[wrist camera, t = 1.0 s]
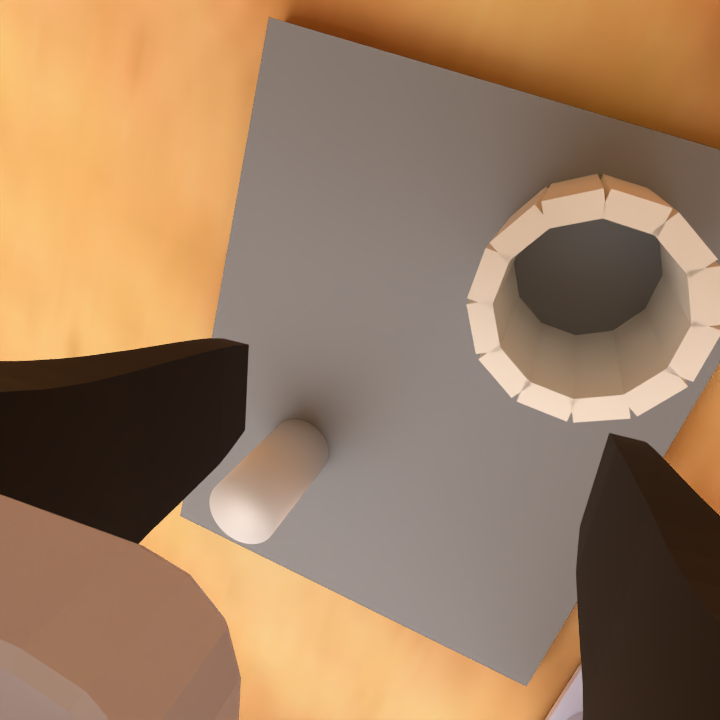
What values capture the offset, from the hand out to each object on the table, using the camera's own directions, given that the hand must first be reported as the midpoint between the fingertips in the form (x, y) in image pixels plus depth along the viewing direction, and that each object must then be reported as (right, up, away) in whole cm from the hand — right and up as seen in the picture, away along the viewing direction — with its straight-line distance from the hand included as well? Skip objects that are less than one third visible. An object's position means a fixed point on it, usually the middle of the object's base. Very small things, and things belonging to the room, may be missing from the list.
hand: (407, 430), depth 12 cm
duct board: (+1, 0, +10) cm, 10 cm away
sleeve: (+6, +4, +6) cm, 9 cm away
